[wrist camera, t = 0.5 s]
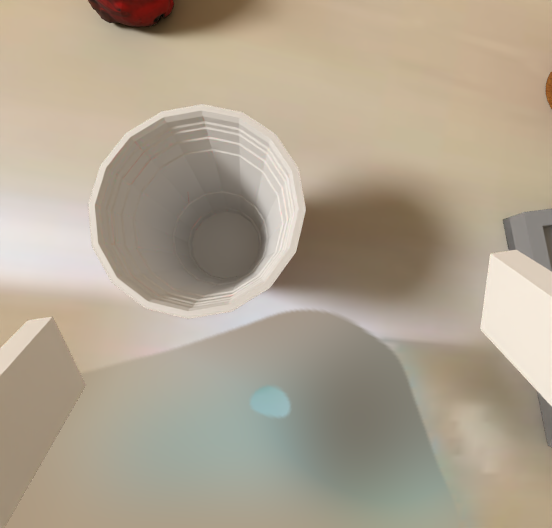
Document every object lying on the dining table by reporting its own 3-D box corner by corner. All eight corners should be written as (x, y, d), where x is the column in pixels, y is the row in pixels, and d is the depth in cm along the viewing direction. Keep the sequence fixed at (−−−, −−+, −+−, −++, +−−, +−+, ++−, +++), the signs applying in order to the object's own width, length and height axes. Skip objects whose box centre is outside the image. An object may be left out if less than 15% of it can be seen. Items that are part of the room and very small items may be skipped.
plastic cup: (192, 157, 30) (143, 63, 18) (312, 211, 30) (341, 152, 18) (132, 277, 29) (38, 260, 17) (256, 334, 29) (247, 357, 17)
